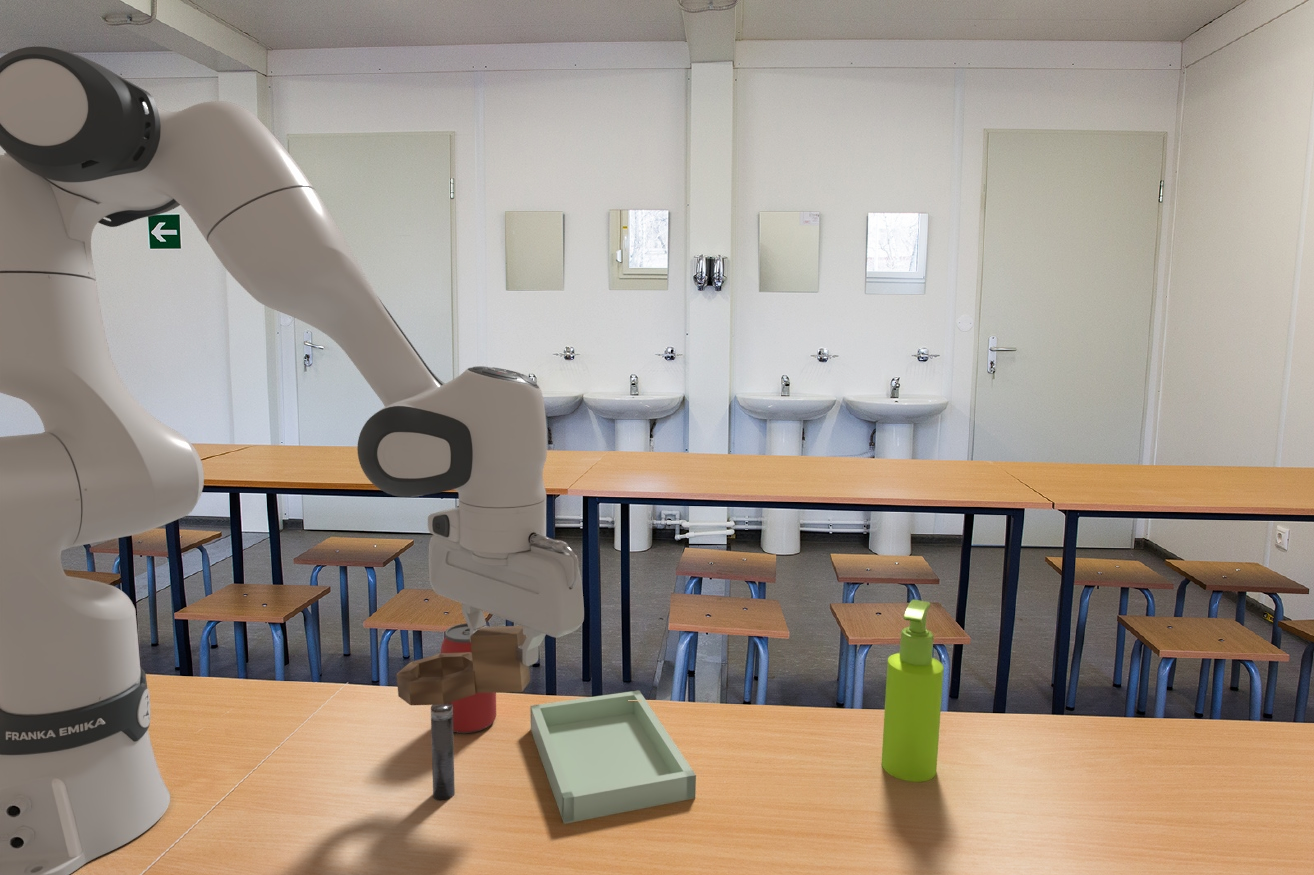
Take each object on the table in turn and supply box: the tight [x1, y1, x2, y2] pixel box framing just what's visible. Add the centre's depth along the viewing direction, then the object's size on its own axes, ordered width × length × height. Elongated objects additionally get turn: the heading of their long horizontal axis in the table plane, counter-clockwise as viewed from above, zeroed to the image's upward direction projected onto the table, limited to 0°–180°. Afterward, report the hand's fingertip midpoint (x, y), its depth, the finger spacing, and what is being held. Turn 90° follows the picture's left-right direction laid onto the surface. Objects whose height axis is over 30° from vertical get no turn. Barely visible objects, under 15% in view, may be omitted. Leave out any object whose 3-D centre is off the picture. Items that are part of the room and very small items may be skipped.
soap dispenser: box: [881, 599, 944, 783], centre depth 86 cm, size 6×7×20 cm
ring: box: [396, 625, 531, 706], centre depth 82 cm, size 8×13×6 cm, turn 83°
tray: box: [529, 690, 697, 825], centre depth 89 cm, size 14×20×3 cm
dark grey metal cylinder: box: [430, 703, 456, 802], centre depth 82 cm, size 2×2×10 cm
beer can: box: [440, 622, 497, 734], centre depth 97 cm, size 7×7×12 cm
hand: (503, 652), depth 82 cm, fingers closed on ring, 6 cm apart
